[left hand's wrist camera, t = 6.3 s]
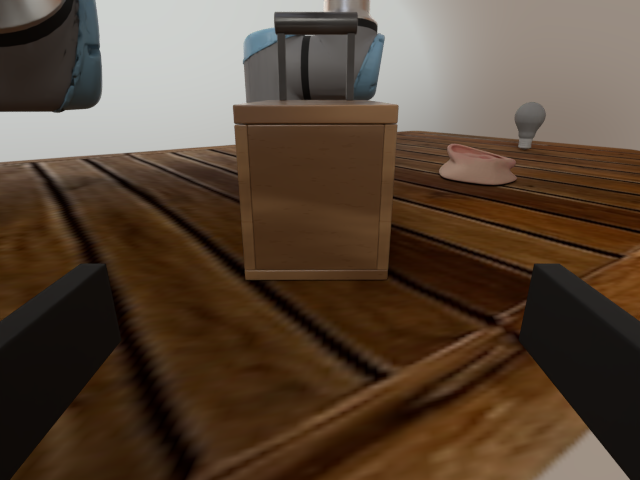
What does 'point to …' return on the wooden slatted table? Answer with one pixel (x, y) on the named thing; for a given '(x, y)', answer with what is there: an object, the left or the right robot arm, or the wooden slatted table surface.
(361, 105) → the lid
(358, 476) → the wooden slatted table surface
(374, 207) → the chest
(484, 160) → the anatomical model
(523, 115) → the light bulb
